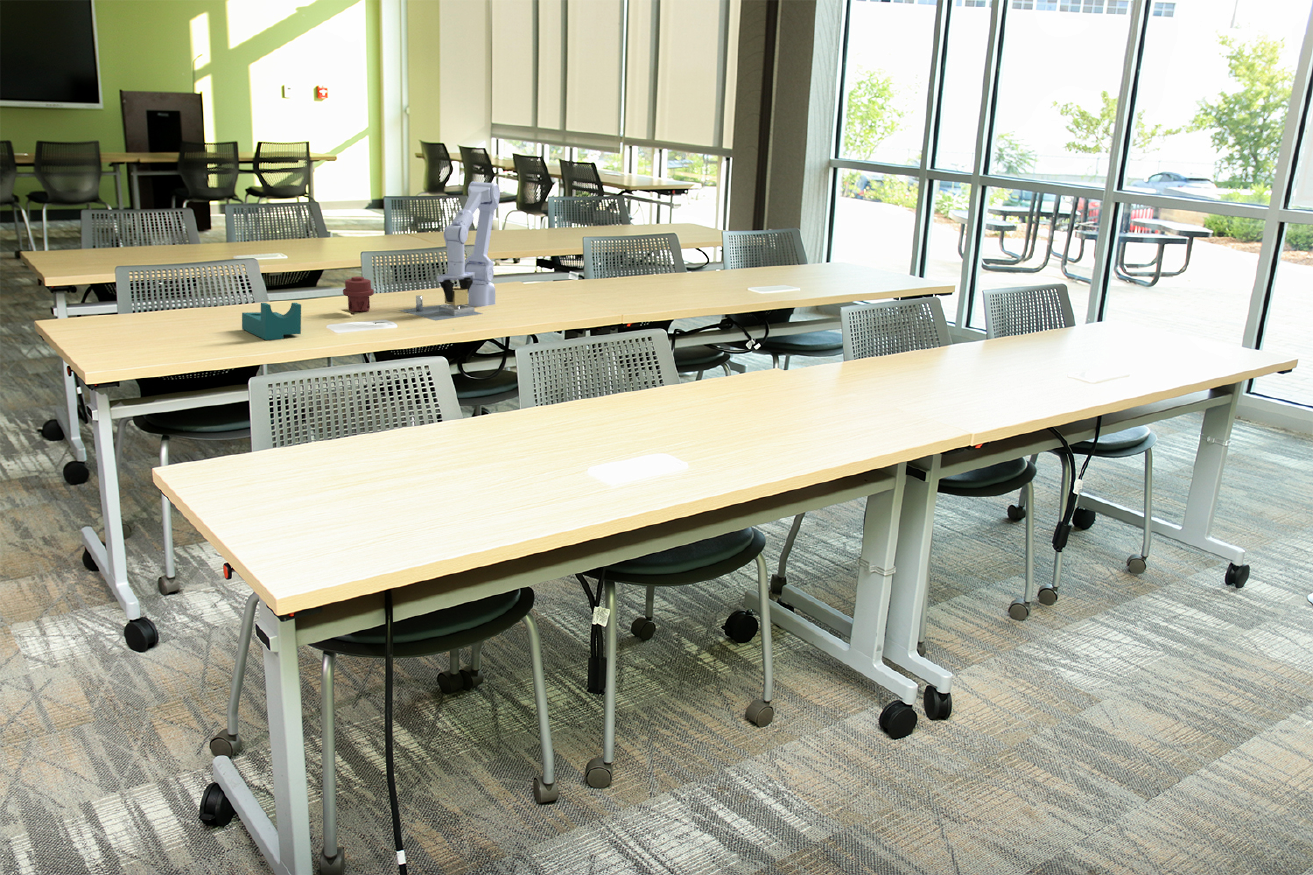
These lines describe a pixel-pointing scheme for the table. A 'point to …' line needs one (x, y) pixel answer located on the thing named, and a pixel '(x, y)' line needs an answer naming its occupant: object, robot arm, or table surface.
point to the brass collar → (458, 296)
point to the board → (435, 313)
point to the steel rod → (419, 303)
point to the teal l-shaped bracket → (273, 322)
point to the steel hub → (456, 309)
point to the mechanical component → (358, 294)
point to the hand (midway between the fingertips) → (456, 300)
